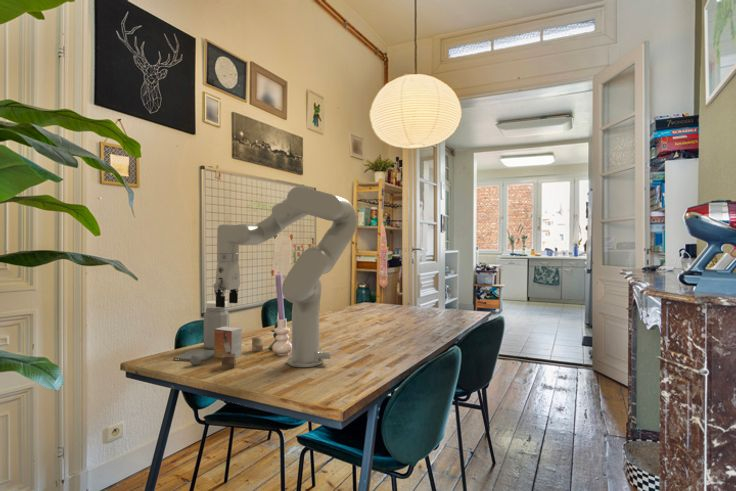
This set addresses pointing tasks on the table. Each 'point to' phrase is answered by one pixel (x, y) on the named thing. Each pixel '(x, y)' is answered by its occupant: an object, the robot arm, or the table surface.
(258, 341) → the cork cylinder
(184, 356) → the slate trivet
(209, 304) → the jar
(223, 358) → the walnut block
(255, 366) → the table surface
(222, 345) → the small box
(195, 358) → the grey rubber ball
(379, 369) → the table surface
